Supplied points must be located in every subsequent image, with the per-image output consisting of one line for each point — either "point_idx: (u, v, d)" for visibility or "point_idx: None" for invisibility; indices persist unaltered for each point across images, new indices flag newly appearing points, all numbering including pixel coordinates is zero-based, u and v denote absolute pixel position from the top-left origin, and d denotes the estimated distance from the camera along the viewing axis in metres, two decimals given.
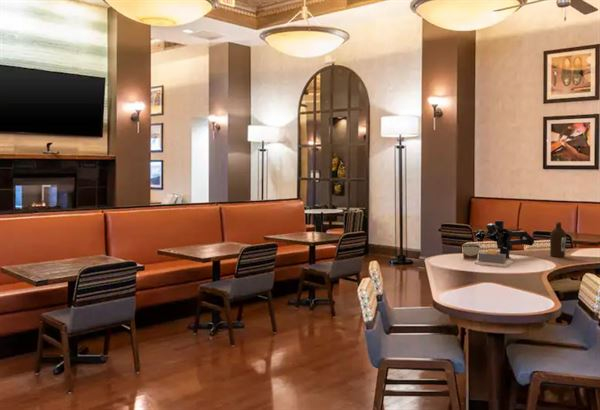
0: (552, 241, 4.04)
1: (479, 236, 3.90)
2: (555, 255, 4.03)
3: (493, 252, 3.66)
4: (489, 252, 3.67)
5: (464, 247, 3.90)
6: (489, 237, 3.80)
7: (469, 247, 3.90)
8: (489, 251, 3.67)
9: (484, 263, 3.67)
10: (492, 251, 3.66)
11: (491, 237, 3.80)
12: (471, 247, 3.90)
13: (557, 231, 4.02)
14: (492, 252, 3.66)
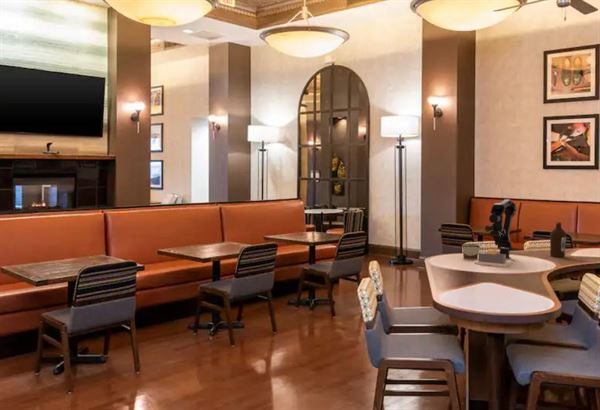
0: (552, 241, 4.04)
1: (499, 237, 3.85)
2: (555, 255, 4.03)
3: (493, 252, 3.66)
4: (489, 252, 3.67)
5: (464, 247, 3.90)
6: (496, 241, 3.80)
7: (469, 247, 3.90)
8: (489, 251, 3.67)
9: (484, 263, 3.67)
10: (492, 251, 3.66)
11: (496, 238, 3.80)
12: (471, 247, 3.90)
13: (557, 231, 4.02)
14: (492, 252, 3.66)
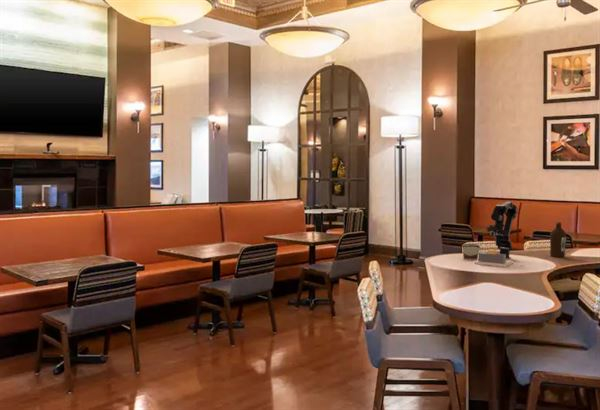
0: (552, 241, 4.04)
1: None
2: (555, 255, 4.03)
3: (493, 252, 3.66)
4: (489, 252, 3.67)
5: (464, 247, 3.90)
6: (498, 241, 3.81)
7: (469, 247, 3.90)
8: (489, 251, 3.67)
9: (484, 263, 3.67)
10: (492, 251, 3.66)
11: (498, 239, 3.81)
12: (471, 247, 3.90)
13: (557, 231, 4.02)
14: (492, 252, 3.66)
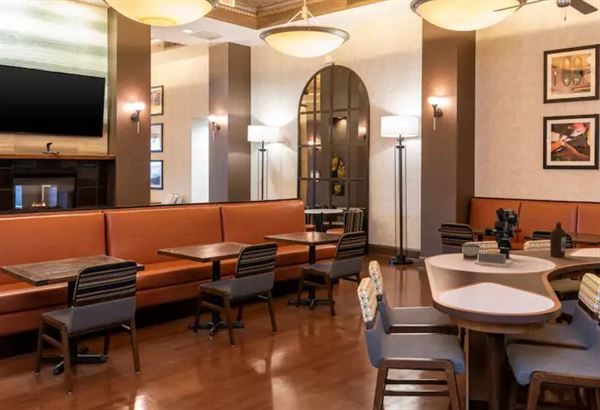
0: (552, 241, 4.04)
1: None
2: (555, 255, 4.03)
3: (493, 252, 3.66)
4: (489, 252, 3.67)
5: (464, 247, 3.90)
6: (499, 239, 3.78)
7: (469, 247, 3.90)
8: (489, 251, 3.67)
9: (484, 263, 3.67)
10: (492, 251, 3.66)
11: (500, 237, 3.79)
12: (471, 247, 3.90)
13: (557, 231, 4.02)
14: (492, 252, 3.66)
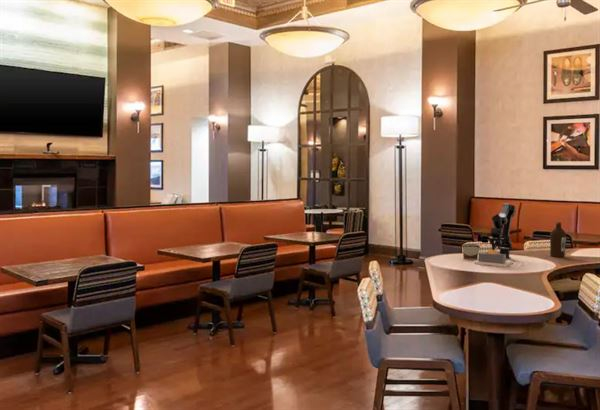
0: (552, 241, 4.04)
1: None
2: (555, 255, 4.03)
3: (493, 252, 3.66)
4: (489, 252, 3.67)
5: (464, 247, 3.90)
6: (495, 246, 3.71)
7: (469, 247, 3.90)
8: (489, 251, 3.67)
9: (484, 263, 3.67)
10: (492, 251, 3.66)
11: (496, 244, 3.72)
12: (471, 247, 3.90)
13: (557, 231, 4.02)
14: (492, 252, 3.66)
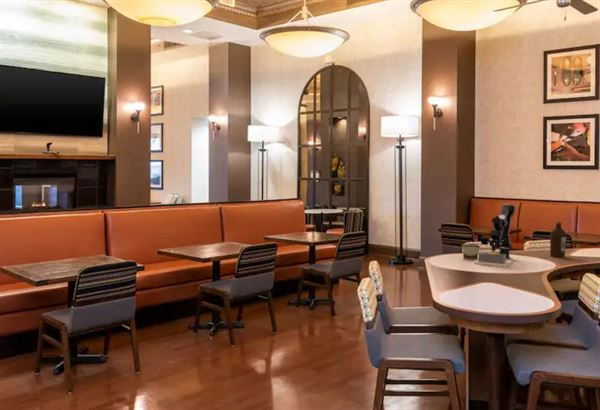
0: (552, 241, 4.04)
1: None
2: (555, 255, 4.03)
3: None
4: None
5: (464, 247, 3.90)
6: (495, 248, 3.71)
7: (469, 247, 3.90)
8: None
9: (484, 263, 3.67)
10: None
11: (496, 246, 3.72)
12: (471, 247, 3.90)
13: (557, 231, 4.02)
14: None
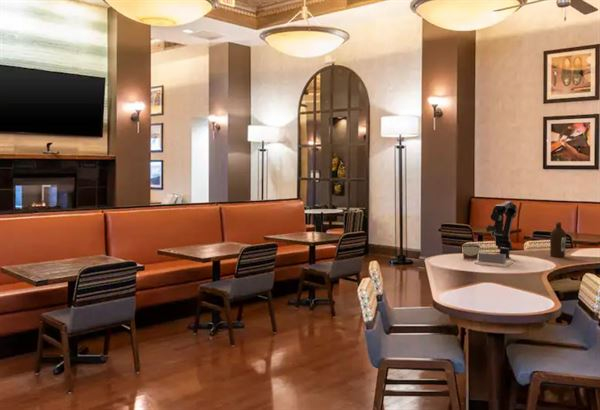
0: (552, 241, 4.04)
1: None
2: (555, 255, 4.03)
3: None
4: None
5: (464, 247, 3.90)
6: (497, 241, 3.80)
7: (469, 247, 3.90)
8: None
9: (484, 263, 3.67)
10: None
11: (498, 239, 3.80)
12: (471, 247, 3.90)
13: (557, 231, 4.02)
14: None
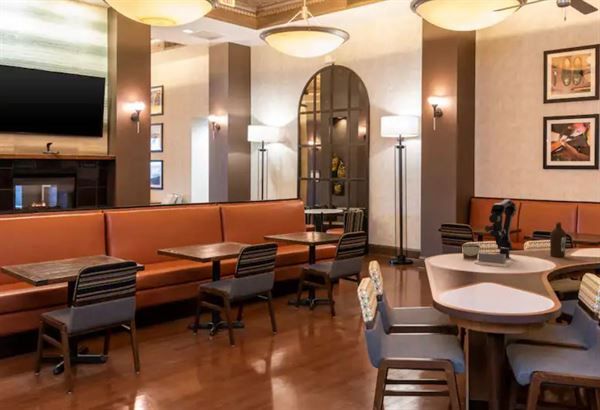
0: (552, 241, 4.04)
1: None
2: (555, 255, 4.03)
3: None
4: None
5: (464, 247, 3.90)
6: (497, 241, 3.82)
7: (469, 247, 3.90)
8: None
9: (484, 263, 3.67)
10: None
11: (497, 238, 3.82)
12: (471, 247, 3.90)
13: (557, 231, 4.02)
14: None
